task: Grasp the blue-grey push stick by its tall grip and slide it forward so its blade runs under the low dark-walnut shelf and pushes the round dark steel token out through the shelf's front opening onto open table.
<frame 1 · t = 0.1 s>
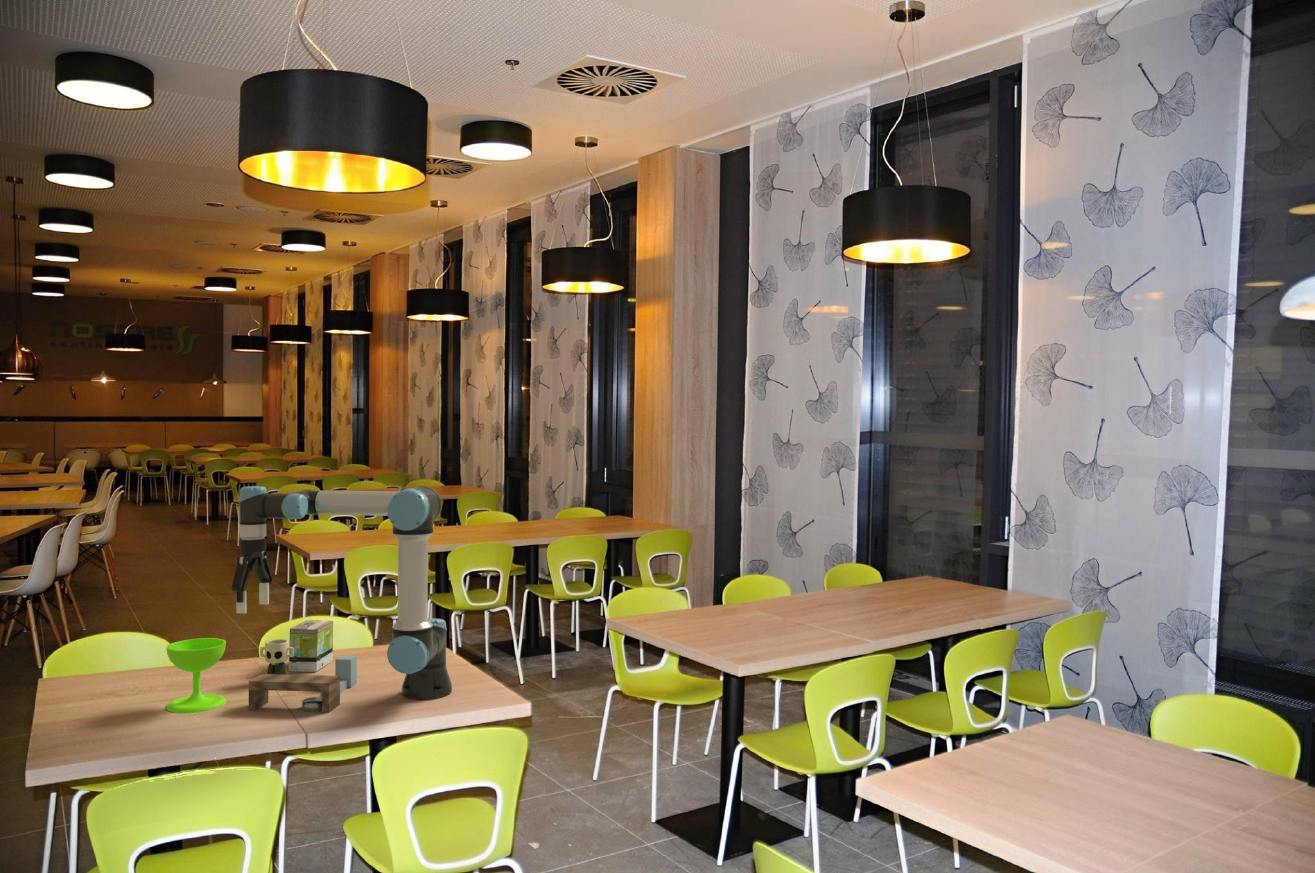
hand: (252, 608, 284), 28 cm above the table, fingers open, 13 cm apart
character mug: (276, 682, 306), on the table
wineglass: (196, 705, 280), on the table
shelf: (294, 707, 278), on the table
tea box: (311, 667, 324), on the table
token: (314, 708, 278), on the table
push stick: (346, 685, 301), on the table
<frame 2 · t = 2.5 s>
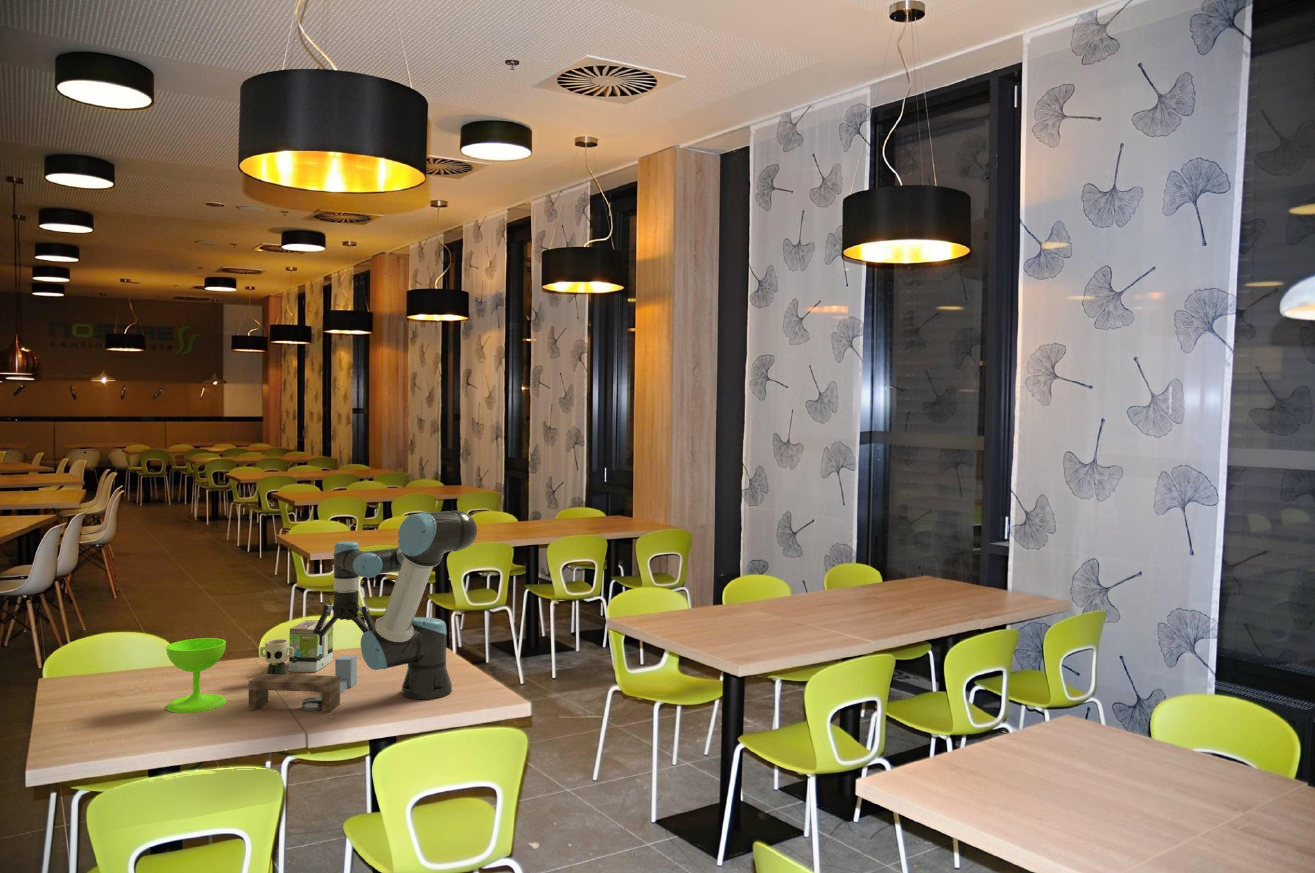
hand: (345, 656, 302), 9 cm above the table, fingers open, 13 cm apart
nothing on the table moved.
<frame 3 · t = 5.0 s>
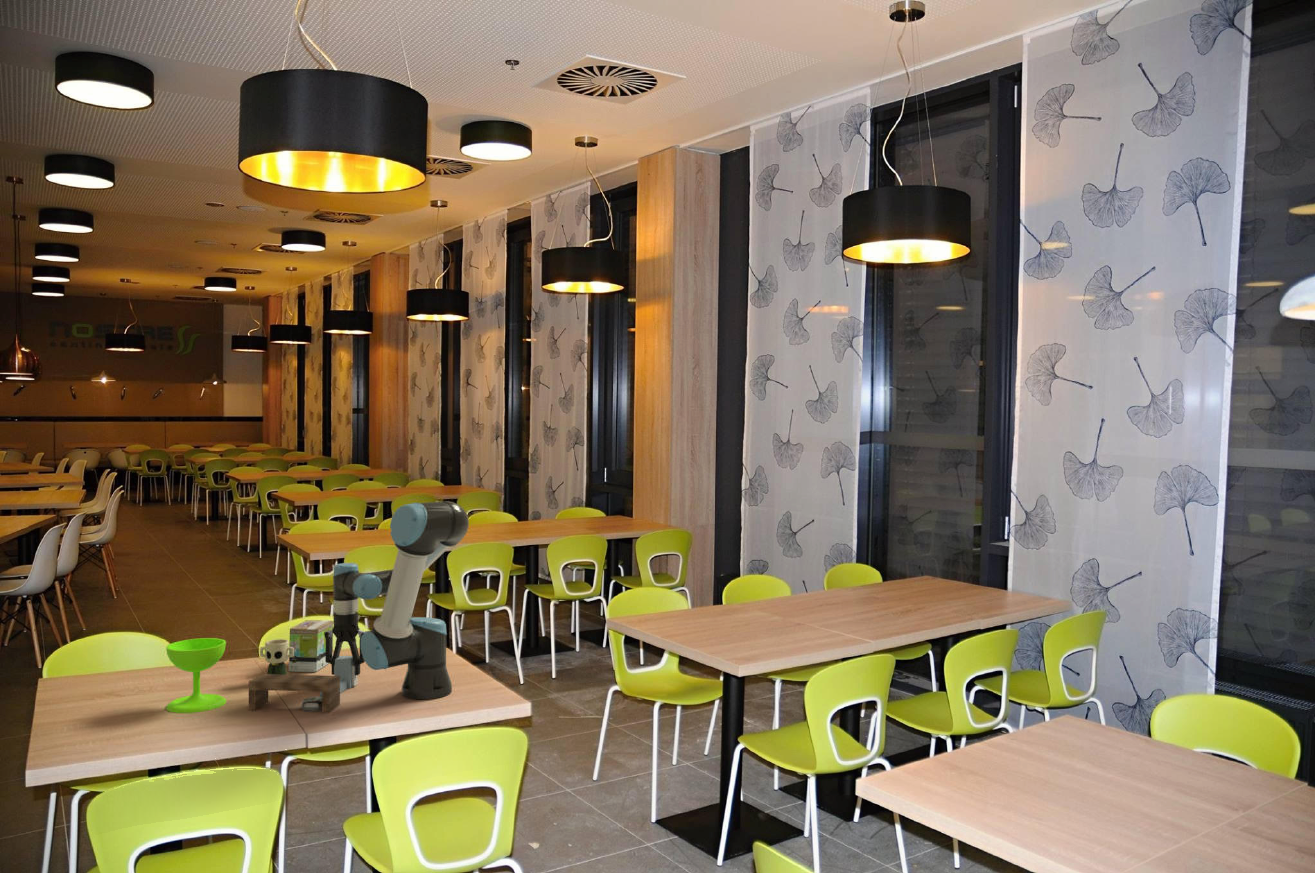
hand: (345, 684, 301), 0 cm above the table, fingers closed on push stick, 5 cm apart
push stick: (345, 685, 301), on the table, touching gripper
everything else where it was.
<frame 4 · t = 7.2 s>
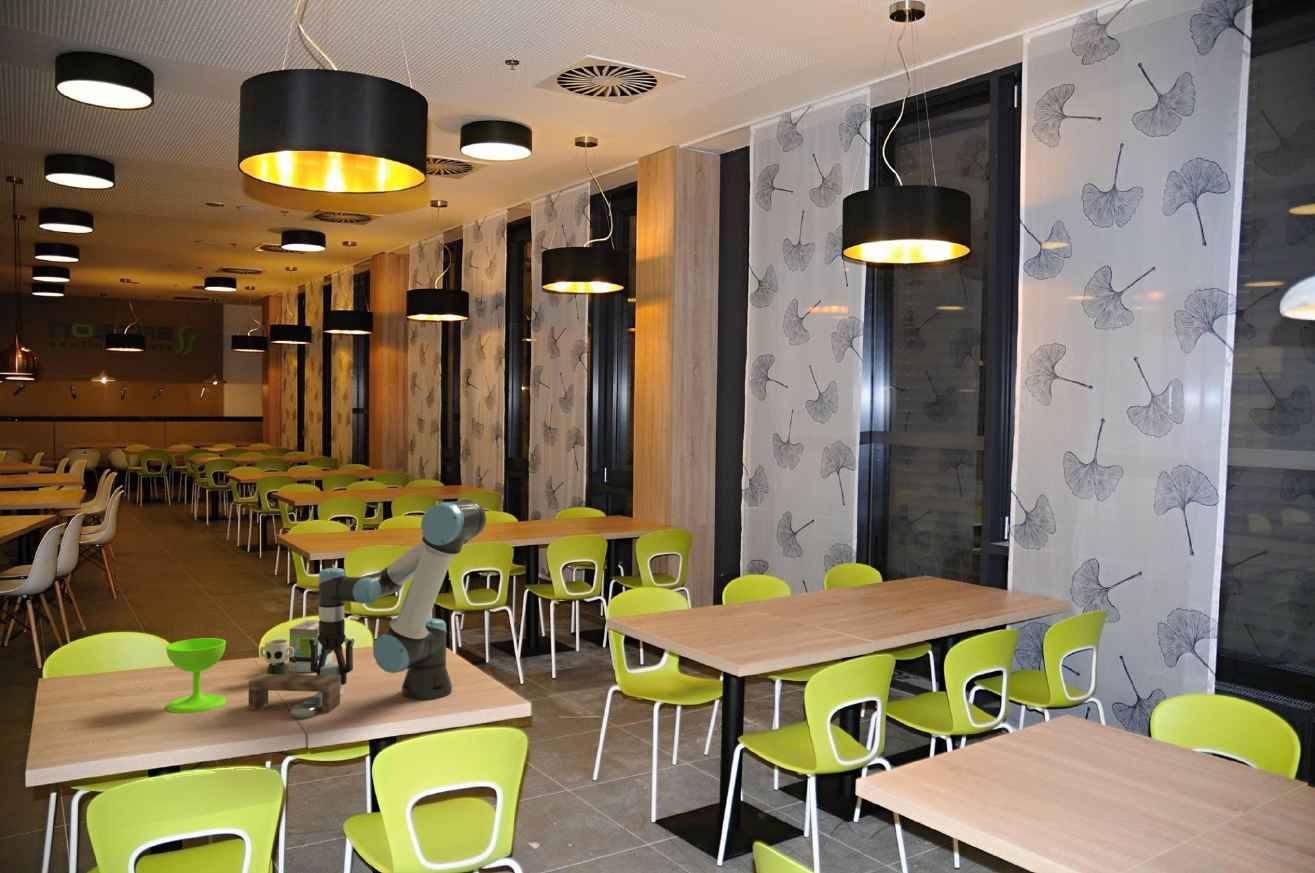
hand: (331, 694, 290), 0 cm above the table, fingers closed on push stick, 5 cm apart
token: (303, 715, 271), on the table, touching push stick
push stick: (331, 695, 290), on the table, touching gripper, token
everything else where it was.
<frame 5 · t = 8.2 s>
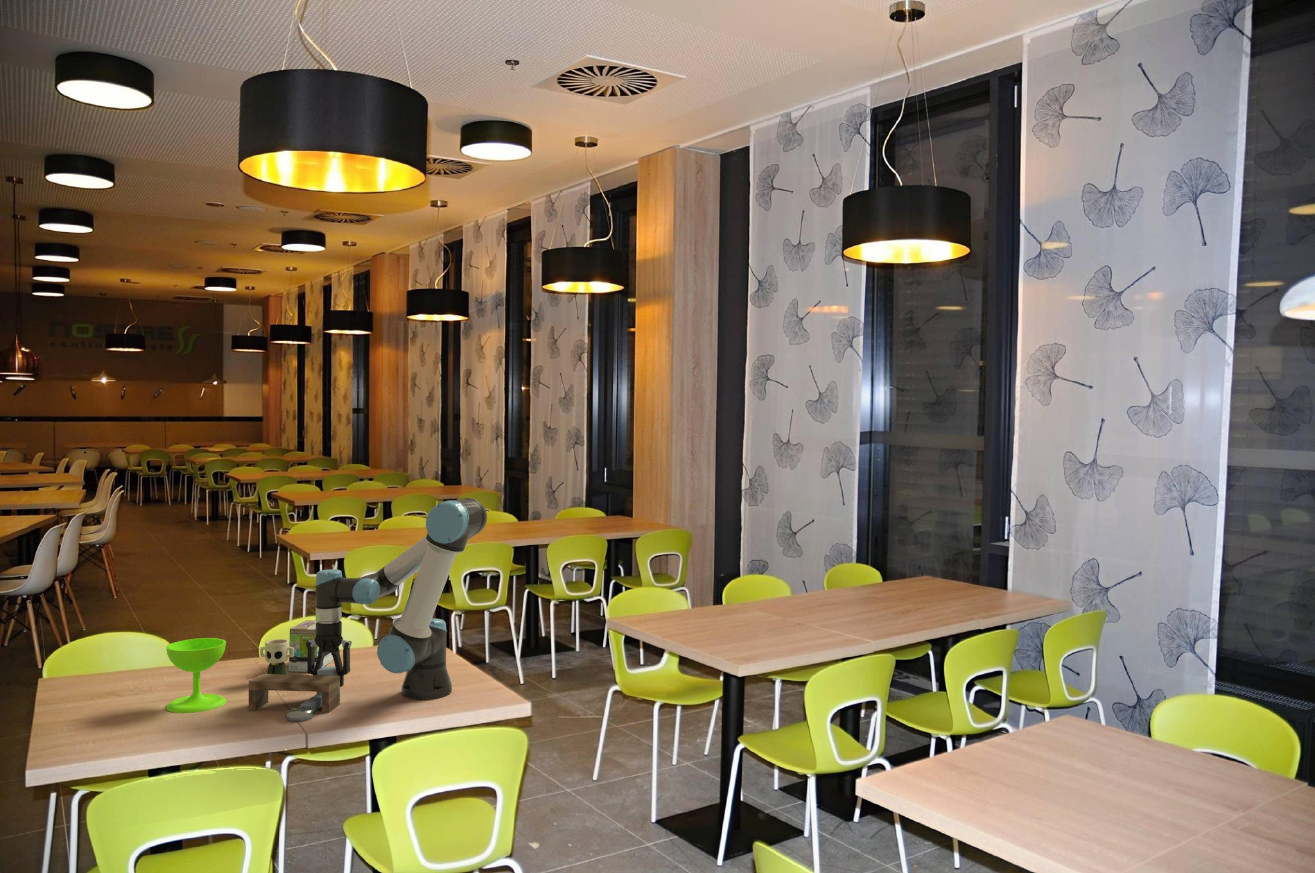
hand: (328, 696, 288), 0 cm above the table, fingers closed on push stick, 5 cm apart
token: (299, 718, 268), on the table
push stick: (328, 697, 288), on the table, touching gripper
everything else where it was.
when the fingers open (0 cm above the table, at t = 10.4 s): push stick stays where it is, on the table.
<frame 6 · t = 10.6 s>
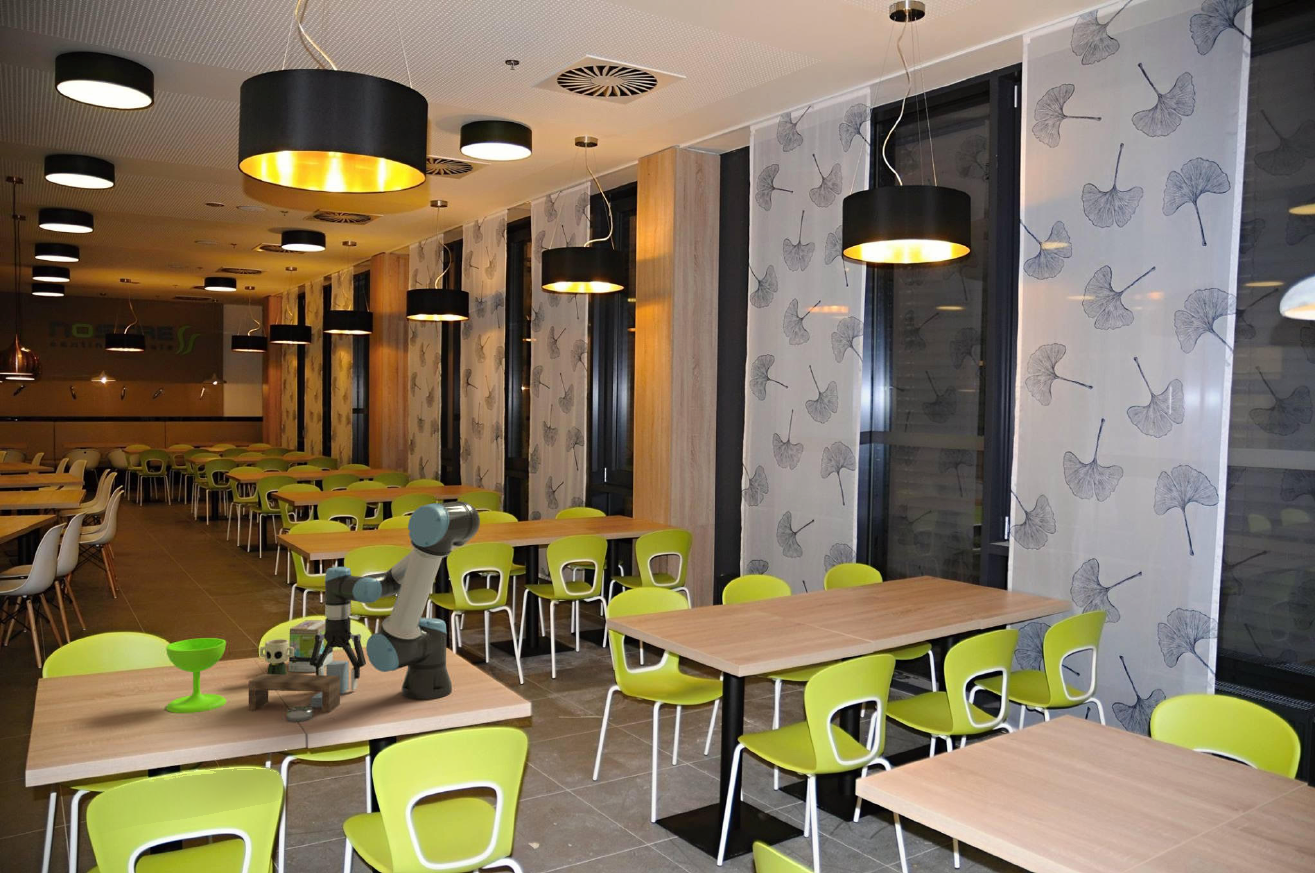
hand: (337, 688, 295), 1 cm above the table, fingers open, 10 cm apart
push stick: (337, 691, 295), on the table
everything else where it was.
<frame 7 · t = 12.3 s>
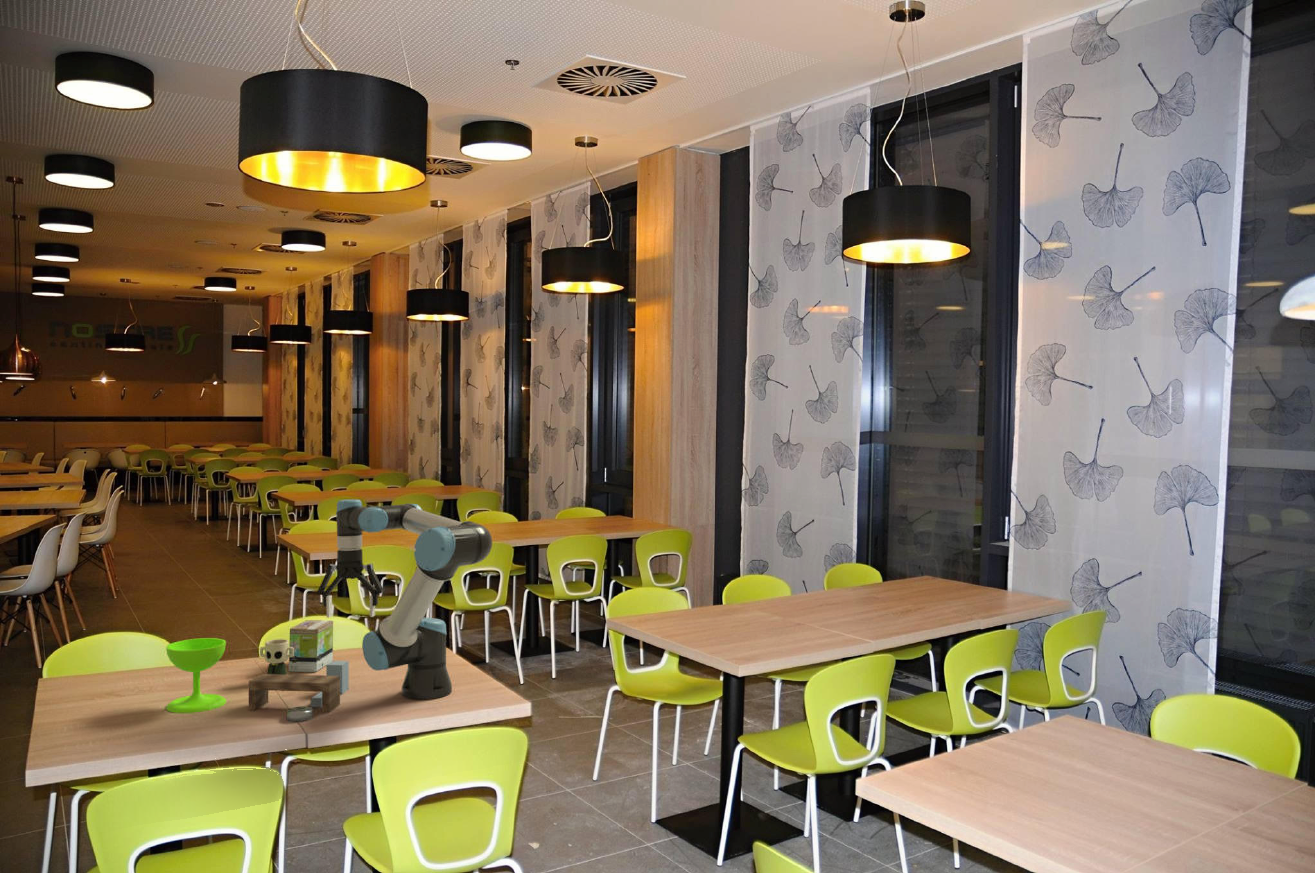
hand: (350, 616, 297), 23 cm above the table, fingers open, 13 cm apart
nothing on the table moved.
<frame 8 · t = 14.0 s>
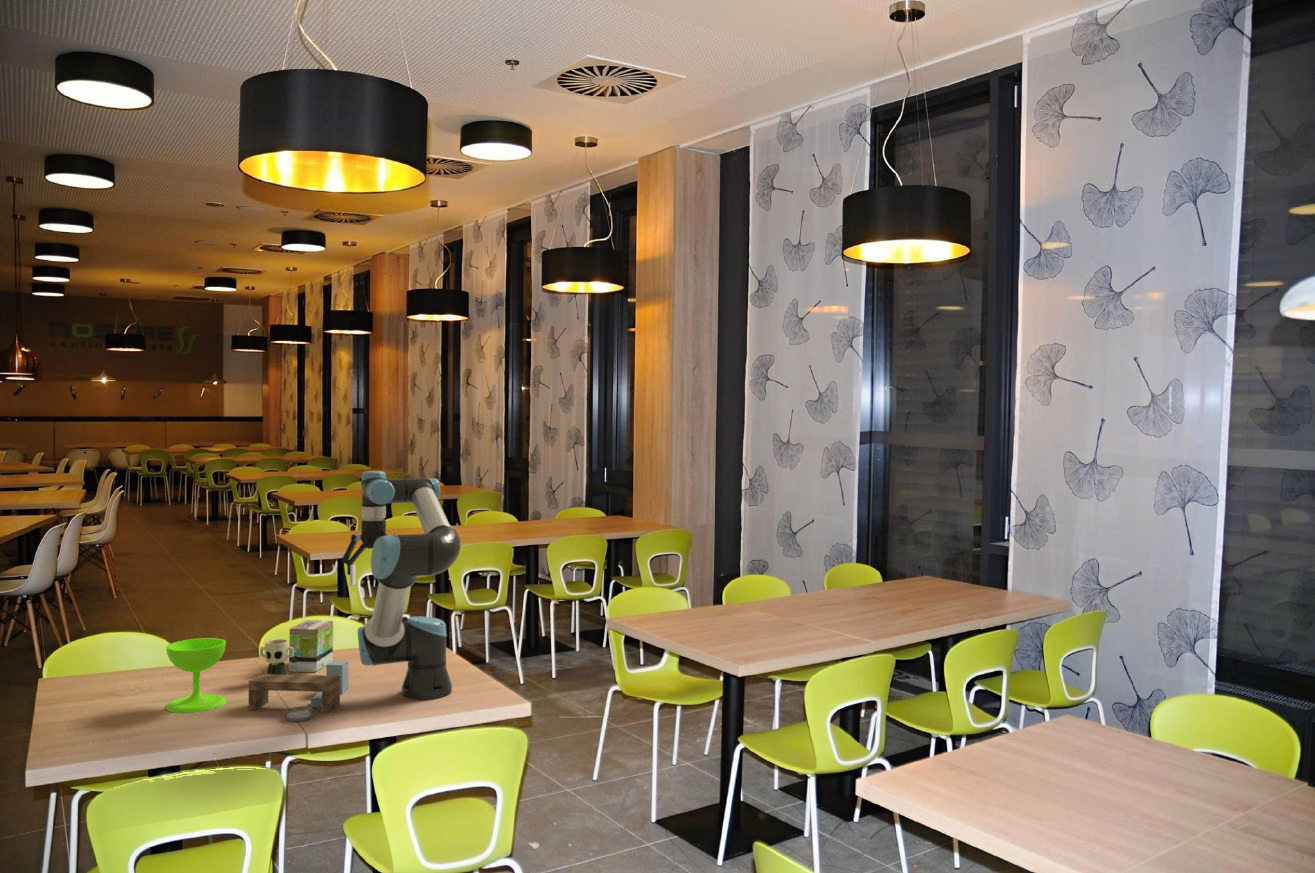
hand: (373, 585, 303), 32 cm above the table, fingers open, 13 cm apart
nothing on the table moved.
at the end: token inside the target area (5.0 cm from its centre), on the table; token moved 9.6 cm from its start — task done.
